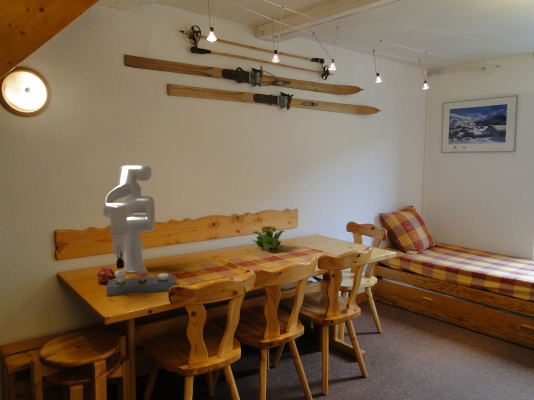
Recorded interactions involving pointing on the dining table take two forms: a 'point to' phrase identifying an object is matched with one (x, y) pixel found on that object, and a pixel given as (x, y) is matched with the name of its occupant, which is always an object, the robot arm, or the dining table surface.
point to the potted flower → (269, 239)
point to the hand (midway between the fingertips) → (120, 267)
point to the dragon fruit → (105, 275)
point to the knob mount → (140, 285)
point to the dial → (142, 274)
